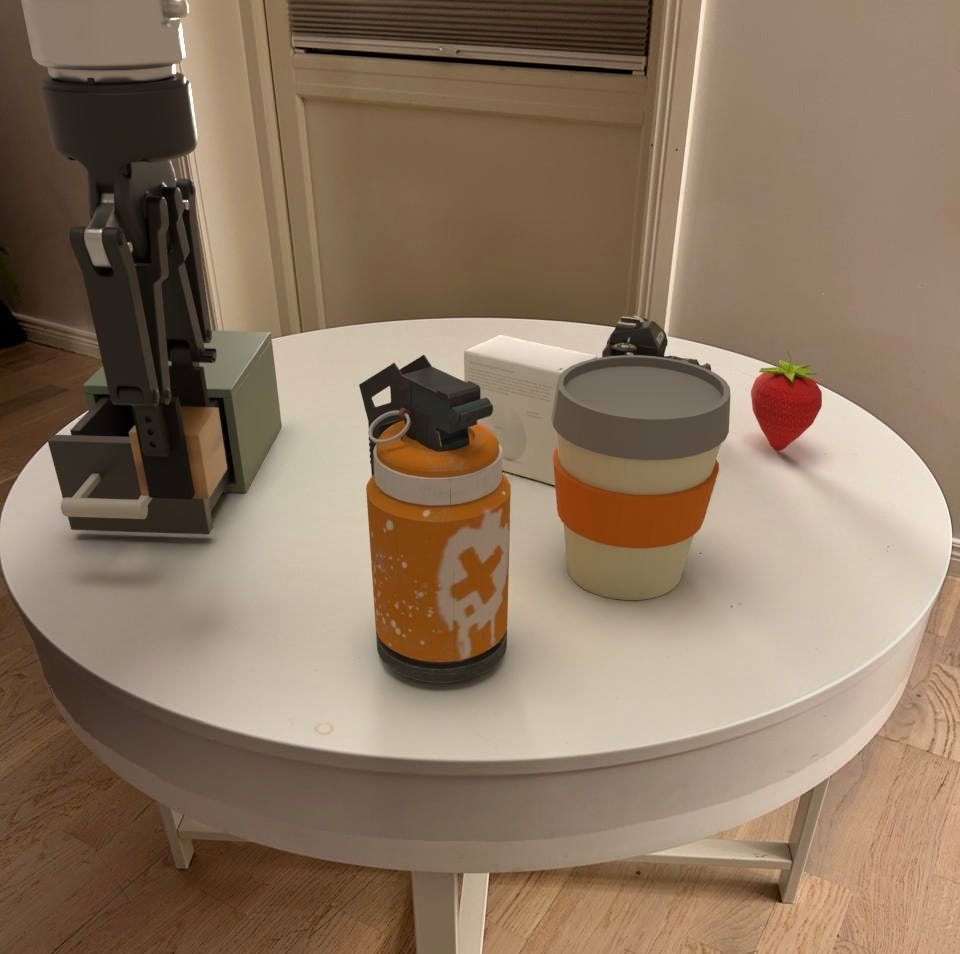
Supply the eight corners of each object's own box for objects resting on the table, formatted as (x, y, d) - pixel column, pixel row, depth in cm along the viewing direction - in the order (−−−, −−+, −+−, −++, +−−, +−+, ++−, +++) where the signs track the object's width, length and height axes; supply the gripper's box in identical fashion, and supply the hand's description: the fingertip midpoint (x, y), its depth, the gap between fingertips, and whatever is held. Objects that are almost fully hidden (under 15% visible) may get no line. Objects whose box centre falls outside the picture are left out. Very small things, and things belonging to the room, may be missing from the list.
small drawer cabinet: (246, 493, 88) (230, 389, 83) (106, 488, 89) (81, 385, 83) (282, 426, 100) (270, 331, 94) (158, 422, 101) (140, 328, 95)
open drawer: (188, 571, 76) (170, 478, 71) (41, 566, 76) (14, 473, 72) (250, 461, 91) (238, 379, 87) (128, 458, 92) (110, 376, 87)
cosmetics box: (591, 462, 94) (600, 352, 88) (557, 488, 89) (564, 374, 83) (498, 436, 98) (500, 330, 92) (461, 459, 94) (460, 350, 88)
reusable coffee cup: (676, 630, 71) (705, 435, 62) (517, 587, 76) (523, 399, 67) (724, 551, 80) (754, 371, 72) (579, 517, 85) (592, 343, 76)
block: (141, 496, 64) (128, 432, 61) (163, 466, 67) (152, 404, 65) (208, 499, 64) (198, 435, 61) (227, 468, 67) (218, 407, 65)
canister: (429, 708, 64) (420, 414, 52) (335, 632, 71) (309, 357, 59) (533, 656, 69) (545, 375, 57) (435, 589, 76) (429, 326, 64)
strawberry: (771, 471, 92) (791, 366, 87) (728, 439, 98) (744, 338, 92) (825, 462, 94) (848, 358, 88) (780, 431, 100) (799, 332, 94)
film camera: (723, 460, 94) (740, 357, 88) (593, 459, 94) (600, 356, 88) (690, 389, 109) (703, 296, 103) (577, 388, 109) (583, 296, 103)
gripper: (124, 95, 44) (201, 548, 58) (230, 54, 59) (272, 426, 72) (-39, 91, 45) (75, 541, 58) (105, 51, 59) (171, 421, 73)
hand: (184, 477), depth 65 cm, fingers closed on block, 4 cm apart
